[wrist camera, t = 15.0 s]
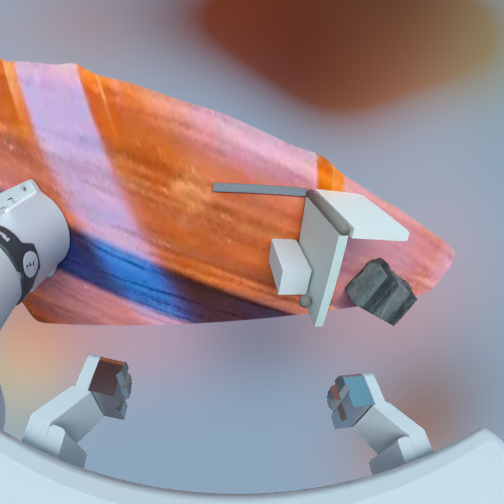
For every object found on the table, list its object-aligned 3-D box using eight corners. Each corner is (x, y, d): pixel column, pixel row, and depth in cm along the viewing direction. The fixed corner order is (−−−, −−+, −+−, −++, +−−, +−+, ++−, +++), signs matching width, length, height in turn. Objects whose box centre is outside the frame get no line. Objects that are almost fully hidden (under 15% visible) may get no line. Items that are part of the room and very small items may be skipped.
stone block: (373, 252, 47) (387, 267, 43) (410, 281, 52) (422, 295, 48) (343, 287, 50) (353, 304, 46) (383, 310, 55) (394, 326, 51)
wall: (213, 190, 38) (208, 232, 26) (213, 182, 38) (209, 221, 26) (359, 201, 41) (406, 241, 29) (360, 194, 41) (409, 232, 29)
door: (309, 272, 47) (334, 325, 35) (283, 272, 46) (301, 327, 35) (325, 190, 40) (364, 226, 28) (295, 188, 39) (325, 224, 28)
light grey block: (292, 261, 46) (306, 294, 38) (268, 260, 45) (278, 294, 37) (296, 239, 44) (311, 270, 36) (271, 238, 43) (282, 270, 36)
